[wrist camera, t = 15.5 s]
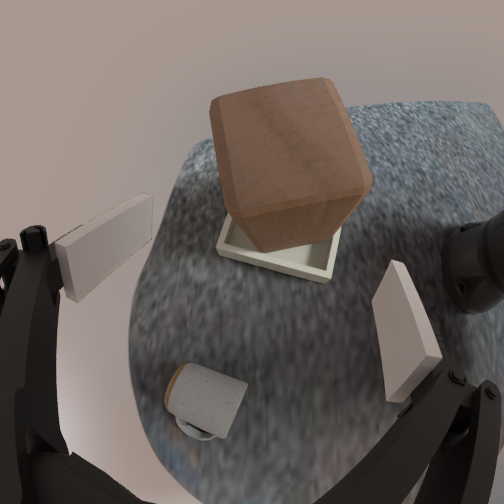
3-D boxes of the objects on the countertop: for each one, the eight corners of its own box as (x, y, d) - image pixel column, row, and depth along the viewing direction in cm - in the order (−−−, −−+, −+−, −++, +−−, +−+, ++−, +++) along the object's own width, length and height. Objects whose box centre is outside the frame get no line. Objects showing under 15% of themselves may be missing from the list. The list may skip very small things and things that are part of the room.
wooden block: (259, 255, 36) (223, 217, 17) (245, 185, 38) (204, 95, 18) (333, 240, 35) (381, 186, 16) (315, 171, 37) (332, 71, 17)
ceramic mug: (191, 356, 34) (172, 362, 26) (250, 378, 32) (246, 391, 25) (168, 422, 31) (147, 440, 24) (224, 444, 30) (215, 469, 23)
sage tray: (342, 191, 40) (348, 179, 36) (324, 284, 36) (330, 278, 32) (250, 167, 41) (249, 154, 38) (219, 255, 37) (215, 247, 34)
